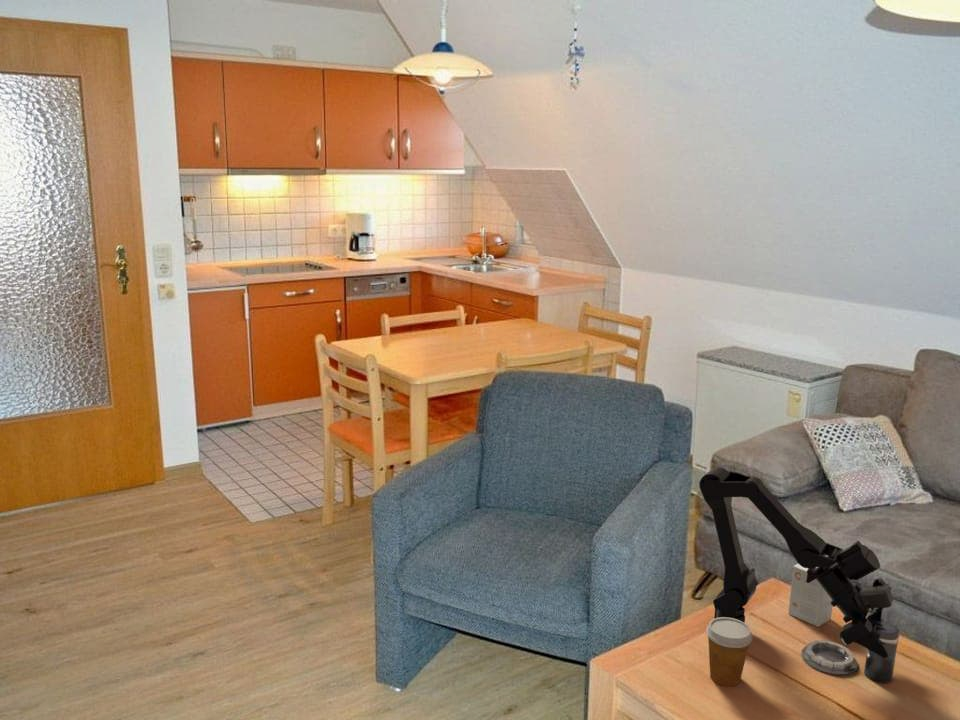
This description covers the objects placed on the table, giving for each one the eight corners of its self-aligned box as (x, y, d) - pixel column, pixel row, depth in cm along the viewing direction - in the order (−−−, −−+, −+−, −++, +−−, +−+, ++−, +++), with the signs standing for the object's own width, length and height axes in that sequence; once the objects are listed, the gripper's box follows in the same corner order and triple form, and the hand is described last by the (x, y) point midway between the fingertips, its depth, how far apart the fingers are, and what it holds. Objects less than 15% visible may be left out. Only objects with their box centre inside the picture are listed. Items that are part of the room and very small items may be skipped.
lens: (857, 672, 184) (863, 624, 182) (874, 665, 187) (880, 617, 185) (882, 686, 180) (889, 637, 177) (898, 678, 183) (905, 630, 180)
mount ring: (790, 654, 191) (791, 646, 190) (823, 640, 197) (824, 633, 196) (834, 681, 181) (835, 672, 181) (868, 665, 187) (869, 657, 187)
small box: (831, 619, 206) (837, 570, 204) (817, 627, 203) (823, 578, 200) (801, 606, 213) (806, 558, 210) (787, 614, 209) (792, 565, 206)
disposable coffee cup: (748, 670, 184) (753, 620, 182) (747, 695, 176) (752, 643, 173) (704, 661, 187) (708, 612, 185) (700, 685, 179) (704, 634, 176)
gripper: (863, 589, 173) (915, 655, 169) (879, 556, 188) (927, 616, 184) (819, 612, 179) (868, 676, 175) (837, 579, 194) (883, 637, 190)
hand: (888, 650), depth 181 cm, fingers closed on lens, 6 cm apart
